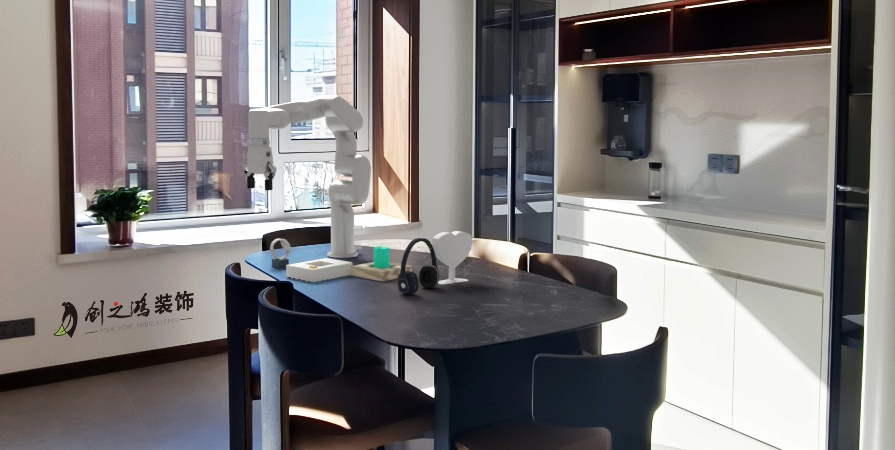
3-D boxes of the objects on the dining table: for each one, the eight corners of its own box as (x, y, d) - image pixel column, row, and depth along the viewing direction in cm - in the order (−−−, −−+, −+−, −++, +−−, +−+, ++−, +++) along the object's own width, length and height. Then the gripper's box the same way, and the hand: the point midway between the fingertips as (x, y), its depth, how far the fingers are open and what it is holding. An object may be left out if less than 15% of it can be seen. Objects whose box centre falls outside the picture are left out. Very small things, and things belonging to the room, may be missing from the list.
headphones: (411, 298, 287) (411, 243, 284) (393, 295, 290) (394, 241, 288) (442, 287, 304) (443, 235, 301) (425, 285, 307) (426, 234, 305)
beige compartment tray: (379, 269, 334) (380, 260, 334) (411, 275, 325) (411, 265, 324) (350, 275, 322) (350, 266, 321) (382, 281, 312) (383, 271, 312)
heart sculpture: (464, 277, 321) (465, 229, 319) (472, 280, 317) (473, 231, 315) (430, 282, 312) (430, 232, 309) (438, 284, 308) (439, 234, 306)
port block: (326, 269, 333) (326, 256, 332) (352, 274, 324) (352, 260, 323) (286, 277, 317) (286, 263, 316) (313, 282, 308) (313, 268, 308)
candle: (387, 277, 320) (387, 245, 318) (371, 276, 321) (371, 244, 319) (391, 274, 326) (391, 242, 324) (375, 273, 327) (376, 241, 325)
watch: (293, 266, 337) (293, 238, 336) (274, 269, 332) (274, 240, 331) (286, 264, 341) (286, 236, 340) (267, 266, 336) (267, 238, 335)
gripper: (282, 143, 319) (283, 190, 322) (251, 141, 329) (252, 187, 332) (267, 144, 313) (267, 191, 316) (235, 142, 323) (236, 188, 326)
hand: (259, 189), depth 324 cm, fingers open, 9 cm apart
